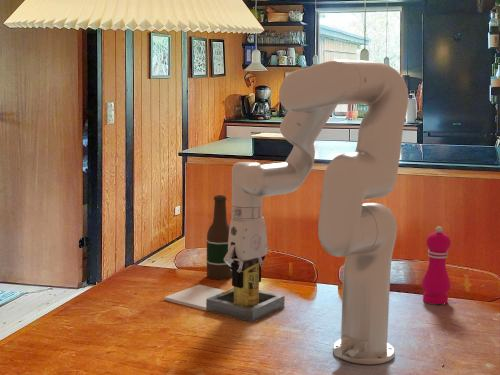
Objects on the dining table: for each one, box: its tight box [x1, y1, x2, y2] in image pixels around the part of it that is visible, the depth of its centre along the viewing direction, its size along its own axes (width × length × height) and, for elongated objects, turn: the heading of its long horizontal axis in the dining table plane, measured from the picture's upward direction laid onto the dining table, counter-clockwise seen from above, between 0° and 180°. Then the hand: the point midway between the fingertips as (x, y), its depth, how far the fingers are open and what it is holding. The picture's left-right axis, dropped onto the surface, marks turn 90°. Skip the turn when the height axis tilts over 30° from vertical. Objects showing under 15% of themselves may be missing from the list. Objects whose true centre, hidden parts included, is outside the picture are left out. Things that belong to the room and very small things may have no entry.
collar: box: [205, 287, 286, 323], centre depth 163 cm, size 14×14×3 cm
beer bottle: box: [206, 194, 232, 281], centre depth 190 cm, size 8×8×24 cm
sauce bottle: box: [233, 258, 260, 307], centre depth 162 cm, size 7×6×20 cm
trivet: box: [163, 284, 226, 311], centre depth 172 cm, size 14×14×1 cm
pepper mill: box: [421, 225, 451, 305], centre depth 170 cm, size 7×7×20 cm
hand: (246, 283), depth 162 cm, fingers closed on sauce bottle, 6 cm apart
